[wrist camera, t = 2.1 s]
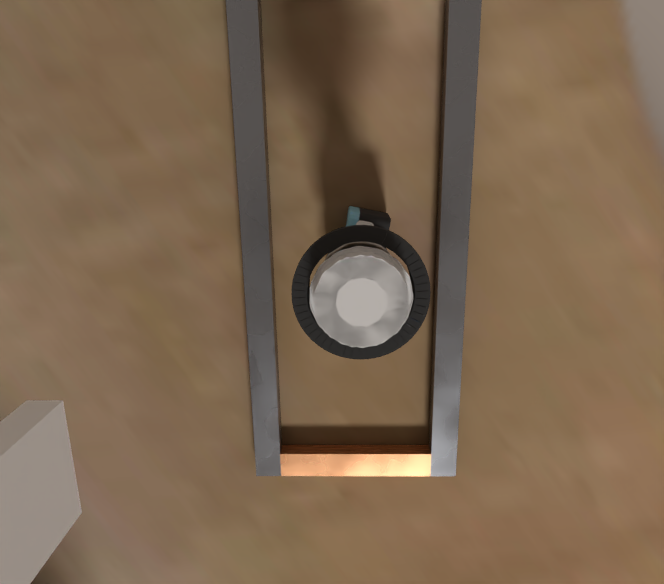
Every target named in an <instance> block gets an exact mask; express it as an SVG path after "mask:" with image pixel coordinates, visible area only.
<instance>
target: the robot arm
mask: <svg viewBox="0 0 664 584" xmlns="http://www.w3.org/2000/svg"><path fill="white" fill-rule="evenodd" d="M81 513H82V511H81V505H80V499H79V493H78V487H77V481H76V475H75V469H74V463H73V457H72V451H71V445H70V439H69V434H68V428H67V422H66V416H65V410H64V404H63V400H27V401H25V402H24V403H23V404H22V405H20V406H19V407H18V408H17V409H15V410H14V411H13V412H12V413H10V414H9V415H8V416H7V417H5V418H4V419H3V420H2V421H0V584H31V582H32V581H33V579H34V578H35V577H36V575H37V574H38V572H39V571H40V570H41V568H42V567H43V566H44V564H45V563H46V561H47V560H48V559H49V557H50V556H51V554H52V553H53V552H54V550H55V549H56V548H57V546H58V545H59V543H60V542H61V541H62V539H63V538H64V536H65V535H66V534H67V532H68V531H69V530H70V528H71V527H72V525H73V524H74V523H75V521H76V520H77V518H78V517H79V516H80V514H81Z"/></svg>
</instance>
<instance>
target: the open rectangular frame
mask: <svg viewBox="0 0 664 584" xmlns="http://www.w3.org/2000/svg"><path fill="white" fill-rule="evenodd" d="M481 2H482V0H446V2H445V29H444V55H443V81H442V108H441V134H440V160H439V187H438V213H437V240H436V266H435V292H434V319H433V345H432V372H431V398H430V424H429V445H282V433H281V412H280V392H279V371H278V350H277V330H276V309H275V288H274V268H273V247H272V226H271V206H270V185H269V164H268V144H267V123H266V102H265V82H264V61H263V40H262V20H261V0H226V11H227V26H228V42H229V57H230V73H231V88H232V104H233V119H234V134H235V150H236V165H237V181H238V196H239V212H240V227H241V243H242V258H243V274H244V289H245V305H246V320H247V336H248V351H249V367H250V382H251V398H252V413H253V429H254V444H255V460H256V475H257V476H456V459H457V441H458V422H459V404H460V386H461V367H462V349H463V331H464V313H465V294H466V276H467V258H468V239H469V221H470V203H471V185H472V166H473V148H474V130H475V111H476V93H477V75H478V57H479V38H480V20H481Z"/></svg>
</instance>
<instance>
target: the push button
mask: <svg viewBox="0 0 664 584" xmlns="http://www.w3.org/2000/svg"><path fill="white" fill-rule="evenodd" d="M390 222H391V219H390V217H389V215H388V214H387V213H384V212H378V211H373V210H368V209H363V208H358V207H353V206H349V209H348V214H347V223H346V227H342V228H338V229H336V230H333V231H331V232H329V233H327V234H326V235H324V236H322V237H321V238H319V239H318V240H317V241H316V242H315V243H313V244H312V245H311V246H310V247H309V249H308V250H307V251H306V252H305V254H304V255H303V257H302V258H301V260H300V262H299V264H298V266H297V269H296V271H295V274H294V278H293V283H292V303H293V308H294V312H295V315H296V317H297V320H298V322H299V324H300V326H301V327H302V329H303V330H304V332H305V333H306V334H307V335H308V336H309V338H310V339H311V340H312V341H314V342H315V343H316V344H317V345H318V346H320V347H321V348H323V349H324V350H326V351H328V352H330V353H332V354H335V355H338V356H341V357H345V358H350V359H371V358H376V357H380V356H384V355H386V354H389V353H391V352H393V351H395V350H397V349H398V348H400V347H402V346H403V345H404V344H405V343H407V342H408V341H409V340H410V339H411V338H412V337H413V336H414V335H415V333H416V332H417V331H418V329H419V328H420V327H421V325H422V323H423V321H424V319H425V317H426V314H427V311H428V308H429V302H430V282H429V277H428V273H427V270H426V268H425V265H424V263H423V262H422V260H421V258H420V256H419V255H418V254H417V252H416V251H415V250H414V248H413V247H412V246H411V245H410V244H409V243H408V242H407V241H406V240H404V239H403V238H402V237H400V236H399V235H397V234H395V233H393V232H391V231H389V227H390ZM386 248H388V249H390V250H391V251H393V252H394V253H396V254H397V255H398V256H399V257H400V258H401V259H402V260H403V261H404V263H405V264H406V265H407V267H408V270H409V274H410V277H409V275H408V274H407V272H406V271H405V269H404V268H403V266H402V265H401V263H400V262H399V261H398V260H397V259H396V258H394V257H392V256H391V255H390V254H389V252H388V251H387V249H386ZM327 253H328V255H327V258H326V259H325V261H324V262H323V263H322V264H321V265H320V266H319V268H318V269H317V271H316V273H315V276H314V278H313V280H312V282H311V285H310V286H309V283H310V275H311V273H312V271H313V269H314V267H315V266H316V264H317V263H318V262H319V260H320V259H321V258H322V257H323V256H324V255H326V254H327Z"/></svg>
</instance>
